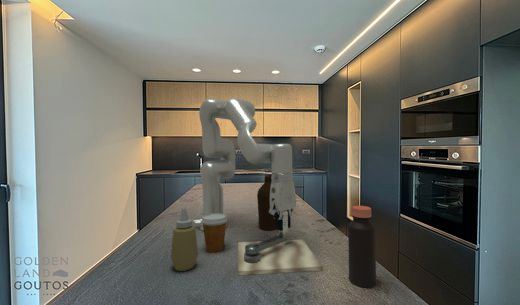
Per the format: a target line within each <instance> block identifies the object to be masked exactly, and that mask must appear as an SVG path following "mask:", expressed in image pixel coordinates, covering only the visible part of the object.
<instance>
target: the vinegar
mask: <svg viewBox="0 0 520 305" xmlns="http://www.w3.org/2000/svg"><path fill="white" fill-rule="evenodd" d="M351 217H352V220H351V221H350V222H349V224H348V227H347V228H348V230H347V231H348V232H347V233H348V237H347V238H348V279H349V282H351V283H352V284H353V285H355V286H356V287H361V288H365V289H367V288H373V287H375V285H376V284H377V258H376V257H377V251H376V248H377V246H376V243H377V242H376V235H377V234H376V226H375V225H374V224H373V222H371V219H372V208H371V207H369V206H366V205H353V206H351Z"/></svg>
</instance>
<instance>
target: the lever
mask: <svg viewBox="0 0 520 305" xmlns="http://www.w3.org/2000/svg"><path fill="white" fill-rule="evenodd" d="M278 215H279V212H278ZM282 219H283V231H279V230H277V235H276V236H274V237H271V238H268V239H265V240H262V242H260V243H257V244H248V245H246V246H245V254H246V255H248V256H255V255H258V254H259V251H262V250H264V249H267V248H269V247H272V246H274V245H277V244H279V243H282V242H284V241H286V240H287V238H288V237H289V228H288V212H287V210H286V211H282Z"/></svg>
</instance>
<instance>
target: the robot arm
mask: <svg viewBox="0 0 520 305" xmlns="http://www.w3.org/2000/svg"><path fill="white" fill-rule="evenodd" d="M199 107H200V108H199V112H198V114H199V120H200V126H201V136H202V137H201V138H202V152H203V155H204V157H207V158H210V159H211V158H215V159H216V158H220V159H216V160H207V161H205V162H203V163H202V164H201V165H200V169H199V172H200V174H199V175H200V178H201V183H202V184H201V186H202V217H203V216H204V215H207V214H213V213H221V214H225V212H224V187H223V185H222V183H221V182H220V181H223V180H230V179H232V178H233V177H234V175H235V174H236V151H235V150H236V149H235V145H234V142H233V141H232V140H231V139H230V138H226V137H221V128H220V125H219V122H218V120H217V119H222V120H227V121H230V122H231V124H232V125H233V126H234V128H235V130H236V131H237V136H236V137H237V139H236V140H237V146H238V148H239V151H240V152H241V154H242V155H243V157H244V158H245V159H246V160H247V162H248V163H250V164H253V165H265V164H271V174H272V176H271V179H272V182H271V188H270V209H269V213H270V214H271V215H272V216H273V217H274V219H275V229H276V230H277V231H278V230H279V231H283V219H282V211H286V210H287V212H288V229H291V228H292V227H291V222H292V221H291V218H292V213H293V211H294V209H295V208H296V206H297V196H296V195H297V194H296V186H295V183H294V181H293V147H292V145H291V144H289V143H275V144H267V143H257V142H256V141H255V140H254V138H253V136H252V135H251V134H252V133H253V132H254V131H255V129H256V128H257V125H258V124H257V121H256V119H255V118H254V117H255V115H256V108H255V105H254V103H252V102H251V101H248V100H245V99H240V98H233V97H232V98H229V99H227V100H223V99H218V98H207V99H204V101H202V102H201V105H200V106H199ZM277 212H279V215H278V213H277ZM201 220H202V218H200V219H198V218H196V219H193V224H195V225H199V230H200V231H203V232H204V230H203V224H202V222H201ZM226 228H228V224H227V223H226ZM276 230H275V231H276Z"/></svg>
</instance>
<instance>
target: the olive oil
mask: <svg viewBox="0 0 520 305" xmlns="http://www.w3.org/2000/svg"><path fill="white" fill-rule="evenodd" d="M271 176H272V173H265V174H264V183H262V184H261V186H260V187H259V188H258V190H257V192H256V193H257V194H256V197H257V199H256V200H257V212H258V229H260V230H262V231H276V229H275V219H274V217H273V216H272V215H271V214H270V213H269V209H270V188H271V182H272V179H271ZM277 213H278V212H277Z"/></svg>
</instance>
